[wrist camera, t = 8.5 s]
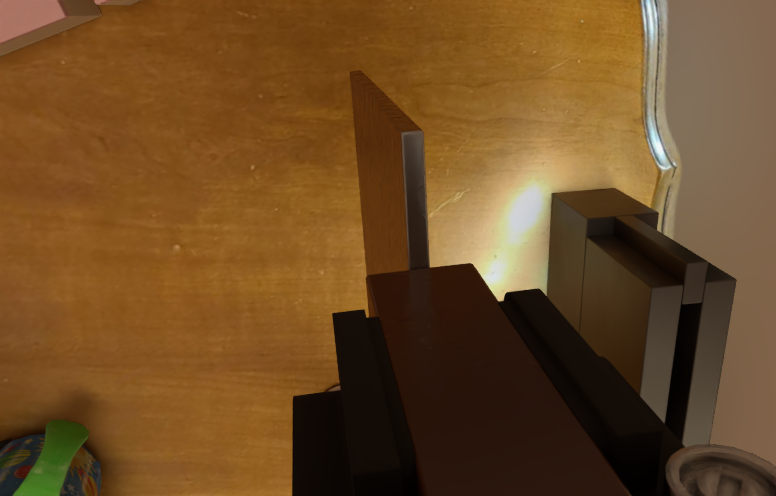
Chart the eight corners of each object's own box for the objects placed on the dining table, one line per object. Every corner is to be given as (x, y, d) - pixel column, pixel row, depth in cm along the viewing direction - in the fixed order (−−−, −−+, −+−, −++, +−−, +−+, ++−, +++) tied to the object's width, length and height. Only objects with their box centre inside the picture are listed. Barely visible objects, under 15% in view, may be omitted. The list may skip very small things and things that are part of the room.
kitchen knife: (325, 72, 21) (444, 339, 4) (385, 67, 21) (729, 304, 4) (346, 293, 24) (467, 972, 7) (399, 287, 24) (637, 933, 7)
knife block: (551, 192, 46) (654, 266, 33) (615, 187, 46) (741, 257, 33) (542, 371, 51) (627, 495, 38) (599, 364, 51) (702, 485, 39)
